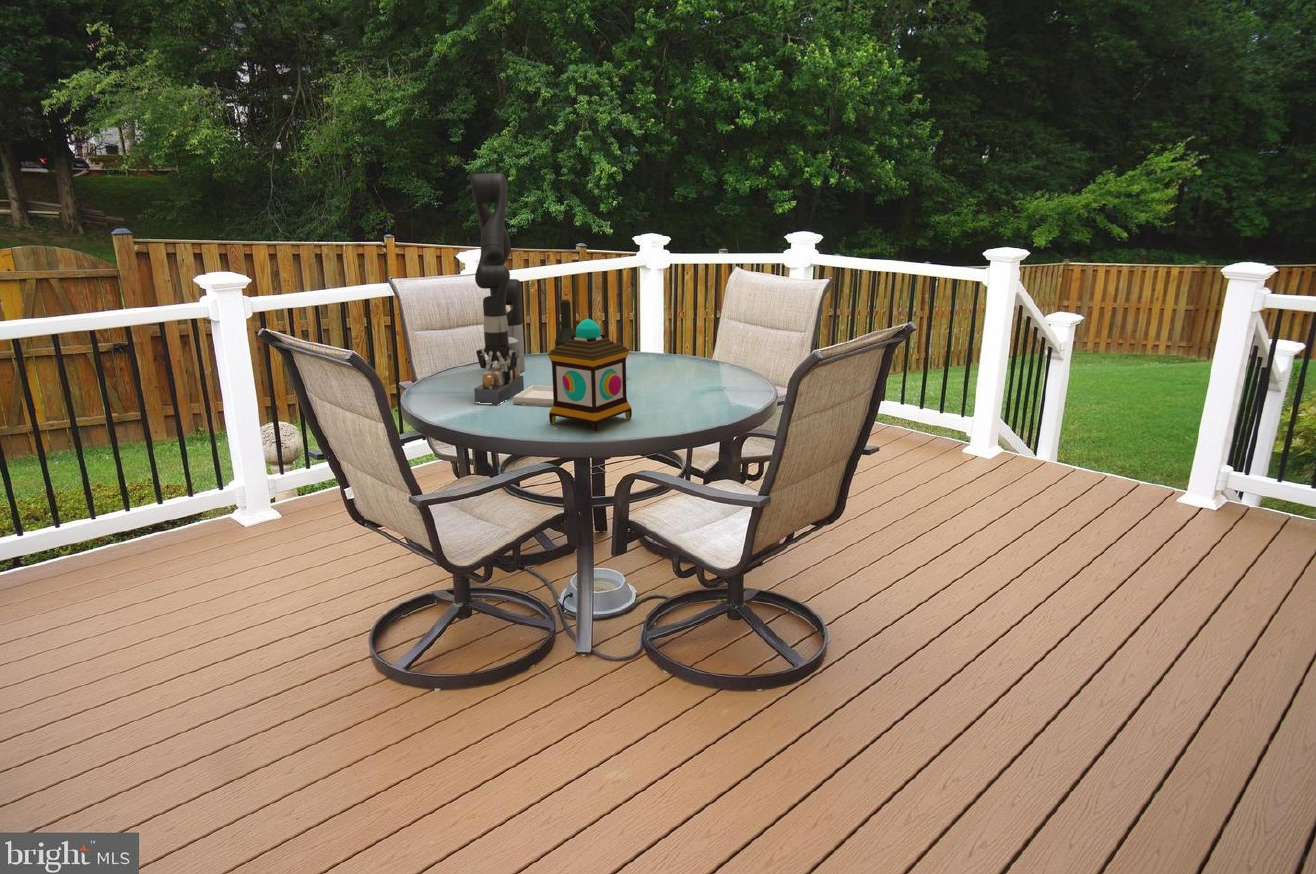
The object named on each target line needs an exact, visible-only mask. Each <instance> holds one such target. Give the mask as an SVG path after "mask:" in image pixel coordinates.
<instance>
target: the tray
mask: <svg viewBox="0 0 1316 874" xmlns="http://www.w3.org/2000/svg"><path fill="white" fill-rule="evenodd" d="M512 402H513V403H512V404H522V405H521V406H529V405H535V406H534V407H545V406H547V408H552V406H553V402H554V399H553V385H538V384H536V385H535V384H532V385H531V386H529V387H526V388H524V391H522V392H520V393H519V394H517V395H515V396H513V397H512ZM524 404H525V405H524Z"/></svg>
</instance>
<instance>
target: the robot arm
mask: <svg viewBox="0 0 1316 874" xmlns="http://www.w3.org/2000/svg"><path fill="white" fill-rule="evenodd" d="M470 180H471V181H470V187H471V192H472V198H473V202H474V206H475V208H476V213H477V218H478V223H479V229H480V230H479V231H480V255H479V256H480V257H479V261H478V265H477V267H476V270H475V273H474V274H475V275H474V279H475V283H476V286H477V287H479V288H480V289H485V290H486V289H489V293H490V295H487V296H485V297H483V299H482V308H483V309H482V310H483V320H482V322H483V338H484V345H485V346H484V348H480V349H478V350H476V351H475V352H476V353H475V354H476V356H477V360H478V363H479V366H480V368H481V369H484V370H485V371H486V370H488V369H489V368H491V367H494V365H493V364H494V363H495V362H497V361H499V362H501V365H503V368H504V370H505V372H504V376H505V383H508V382H509V381H510V380H511V370H513V369H514V368H516V364H517V358H518V356H519V365H520V373H522V371H523V372H525V371H524V370H526V367H525V366H526V364H525V361H526V360H525V344H524V330H523V329H524V328H523V324H524V323H523V311H522V310H523V309H522V308H523V305H522V303H523V301H522V299H523V298H522V295H523V291H522V283H521V281H520V279H517V278H511V273H510V270H509V268H508V267H507V266H506V265H505V264H506V262H507V261H508V259H509V257H510V255H511V252H512V248H511V247H512V246H511V241H510V240H511V239H510V235H509V231H508V230H507V228H506V226H505V219H506V215H507V214H506V211H507V203H508V202H507V201H508V183H507V178H506V177H505V175H504V174H503V173H500V172H493V173H492V172H489V173H476V174H473V175H472V177H471V179H470ZM488 204H495V208H494V211H493V213H492V211H491V210H490V208H489V206H488ZM507 306H511V309H510V310H508V312H506V309H507ZM508 337H512V338H515V339H517V340H518V341H519V342H518V343H516V344H510V345H509V339H508ZM508 354H510V357H511V358H508V357H507V356H508ZM485 355H486V356H487V360H486V357H485ZM508 359H511V362H510V364H509V360H508Z"/></svg>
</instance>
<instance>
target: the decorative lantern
mask: <svg viewBox="0 0 1316 874" xmlns="http://www.w3.org/2000/svg"><path fill="white" fill-rule="evenodd" d="M575 334H576V336H572V337H571V339H570V340H568V341H567V342H566V343H564V344H563V345H560V346H556V347H555V346H554V348H553V349H550V352H548V353H547V356H548V359H549V360H550V362H551V372H552V373H551V375H552V377H551V378H552V386H553V399H554V402H553V406H552V407H550V411H549V413H548V418H549V423H550V424H551V425H554V424H556V419H557V417H559V418H566V419H569V420H576V421H581V422H586V423H590V424H591V426H592V431H593V433H598V431H599V425H600V423H601V422H603V421H606V420H610V419H612V418H615V417H618V416H619V415H622V414H625V415H624V416H625V418H626V419H627V420H631V419H632V415H633V413H632V407H631V405H630V402H629V401H628V398H627V379H626V377H627V358H628V355H629V353H630V349H628V348H627V346H625V345H623V344H622V343H620V342H619V343H618V342H614V341H613V340H610V338H608V337H606V335H605V334H601V327H600V326H599V325H598V324H597V323H596V322H595V321H594V320H592V319H591V318H586V319H583V320H582V321H581V322H580V323H579V324H578V325H577V326H576V329H575ZM553 423H554V424H553Z"/></svg>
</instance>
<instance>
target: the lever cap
mask: <svg viewBox="0 0 1316 874" xmlns="http://www.w3.org/2000/svg"><path fill="white" fill-rule="evenodd" d="M495 365H496V364H495ZM504 372H505V370H504V368H503V365H501V363H499V365H496V366H494V365H493V367H491V368H489V369H488V370H486V369H485V370H484V374H493V375H494V385H495V386H500V385H502V384H504V383H505V376H504ZM511 379H513V375H512V370H511Z"/></svg>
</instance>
